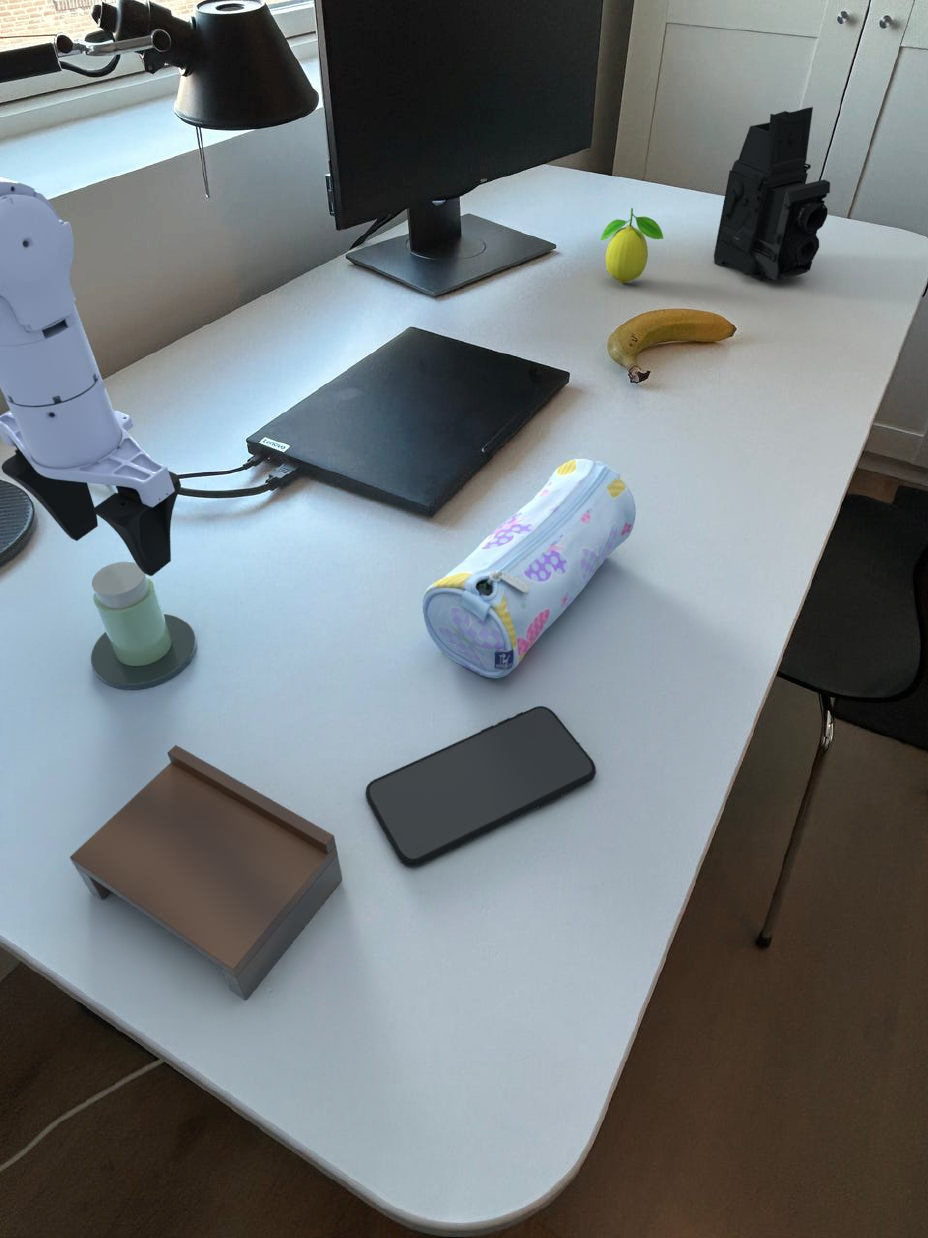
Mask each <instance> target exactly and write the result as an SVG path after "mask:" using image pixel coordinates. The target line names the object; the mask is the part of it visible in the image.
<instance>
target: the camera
mask: <svg viewBox="0 0 928 1238" xmlns="http://www.w3.org/2000/svg"><path fill="white" fill-rule="evenodd" d="M813 109H814V106H811V107H805V108H802V109H799V110H795V111H787V110H784V111H780V112H778V113H775V114H773V113H770V115H769V122H764V123H759V124H754V125H750V126H749V128H748V131H747V133H746V136H745V140H744V142H743V145H742V147H741V151H740V154H739V158H738V159H735V160H734V162H733V164H732V167H731V170H729V172H728V177H727V178H728V179H727V182H726V189H725V194H724V198H723V204H722V209H721V215H720V220H719V226H718V230H717V237H716V242H715V247H714V252H713V261H714V262H713V263H714V265H717V266H721V265H725V266H728V267H730V268H732V269H734V270H736V271H738V272H740V273H743V274H744V275H745V276H749V277H751V278H753V279H755V280H757V281H759V282H761V281H765V280H768V279H771V280H773V281H777V280H781V281H783V280H787V279H790V278H792V277H796V276H800V275H802V274H806V273H808V271H809V272H810V271H811V268H812V264H813V260H814V259H815V257H816V255H817V253H818V251H819V249H820V238H819V237H818V236H817V234H818V231H819V230H820V229H821V228H822V227H823V226H824V225H825V222H826V220H827V218H828V210H829V209H828V207H827V206H826V205H825V200H824V199H825V198H827V197H828V194H830V193H831V182H830V181H829V180H826V179H820V180H817V181H816V180H815V181H812V182H807V179H808V175H809V173H808V170H811V165H812V164H809V163H807V159H808V149H809V142H810V141H809V140H810V134H811V126H812V120H813V119H812V117H813Z"/></svg>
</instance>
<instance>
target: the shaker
mask: <svg viewBox="0 0 928 1238" xmlns="http://www.w3.org/2000/svg"><path fill="white" fill-rule="evenodd" d="M91 587H92V590H93V592H94V593H93V596H92V601H93V603H94V606H95V609H96V611H97V614H98V616H99V619H100V621H101V623H102V626H103V629H104V632H106V633H107V636H108V638H109V641H110V643H111V646H112V648H113V651H114V653H115V656H116V658H117V659H118V660H119V661H120V662H122V663H123V664H126V665H129V666H143V665H148V664H151V663H153V662H156V661H157V660H159V659H161V658H162V657H163V656H164V655H166V653H167V652H168V651H169V649H170V647H171V644H172V638H171V635H170V632H169V629H168V626H167V623H166V620H165V617H164V614H165V613H164V611H163V607H162V605H161V602H160V599H159V596H158V592H157V590H156V587H155V584H154V582H153V581H152V579H151V578H150V577H149V576H148V575H147V574H145V573H144V572H143V571H142V570H141V569H140V568H139V567H138V565H137V564H136V562H135V561H134V562H133V561H117V562H114V563H111V564H108V565H106V566H104V567H102V568H101V569H99V570H97V572H96V573H95V574H94V576H93V577H92V579H91ZM163 613H164V614H163Z"/></svg>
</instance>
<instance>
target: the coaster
mask: <svg viewBox="0 0 928 1238" xmlns="http://www.w3.org/2000/svg"><path fill="white" fill-rule="evenodd" d="M163 614H164V617H165V620H166V623H167V626H168V629H169V632H170V635H171V638H172V644H171V647H170V649H169V651H168V652H167V653H166V655H164V656H163V657H162V658H161V659H159V660H157V661H156V662H153V663H151V664H148V665H143V666H129V665H126V664H123V663H122V662H120V661H119V660H118V659H117V658H116V656H115V653H114V651H113V648H112V646H111V643H110V641H109V638H108V636H107V633H106V631H104V632H103V633H102V635H101V636H100V637H99V638H98V639H97V640H96V642H95V644H94V646H93V648H92V650H91V655H90V663H91V666H92V669H93V671H94V673H95V675H96V677H97V678H98V679H99V680H100V681H102V683H104V684H106V685H108V686H110V687H112V688H116V689H120V690H142V689H143V690H144V689H148V688H152V687H155V686H159V685H161V684H164V683H166V682H168V681H170V680H172V679H173V678H175V677H176V676H178V675H179V674H180V673H181V672H183V671H184V670H185V669H186V668H187V666H188V665H189V664H190V663H191V661H192V660H193V658H194V656H195V654H196V649H197V638H196V634H195V632H194V630H193V627H192V626H191V625H190V624H189V623H188V622H187V621H186V620H184V619H183V618H181V617H179V616H177V615H172V614H169V613H165V612H163Z"/></svg>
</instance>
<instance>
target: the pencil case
mask: <svg viewBox="0 0 928 1238" xmlns="http://www.w3.org/2000/svg"><path fill="white" fill-rule="evenodd" d="M636 511H637V508H636V503H635V499H634V495H633V493H632V491H631V489H630V488H629V486H628V485H627V484H626V482H625V481H623V479H622V478H621V474H620V473H619V472H617V470H614V469H612V467H610V466H608V465H607V464H605V463H604V462H602V461H600V460H597V461H593V460H592V459H591V460H590V459H587V458H574V459H571V460H569V461H566V462H564V463H562V464H561V465H560V466H559V467H557V468H556V469H555V470H554V471H553V473H552V474H551V475H550V477H549V478H548V480H547V483H546V484H545V485H544V486H543V487H542V489H541V490H540V491H538V492H537V493H536V495H535V496H534V497H533V498H532V500H531V501H529V502H527V503H526V504H525V505H524V506H523V507H521V508H520V509H519V510H518V511H517V512H516V513H514V514H513V515H512V516H510V517H509V518H508V519H507V520H505V521H504V522H503V523H501V524H500V525H499V526H498V527H497V528H496V529H494V531H492V532H491V533H490V534H489V535H488V536H487V537H486V538H485V539H483V541H481V543H480V544H479V545H478V546H477V547H476V548H475V549H474V550H473V551H472V552H471V553H470V554H469V555H468V556H467V557H466V558H465V559H463V561H461V562H460V563H459V564H458V565H457V566H456V567H454V568H453V569H452V570H451V571H450V572H448V573H447V574H446V575H444V576H443V578H441V579H438V580H436V581H434V582H433V583H431V584H430V585H429V586H428V587H427V588H426V590H425V591H424V593H423V596H422V614H423V620H424V624H425V627H426V630H427V633H428V635H429V637H430V638H431V640H432V641H433V643H434V644H435V645H436V647H437V648H438V649H439V650H440V651H441V652H442V653H443V654H444V656H446V657H447V658H448V659H450V660H452V661H453V662H455V663H457V664H459V665H460V666H463V667H464V668H466V669H468V670H470V671H472V672H473V673H475V674H478V675H479V676H482V677H486V678H489V679H490V678H491V679H500V678H504V677H506V676H508V675H509V674H511V672H512V671H513V670H514V669H516V668H517V666H519V664H520V663H521V662H522V660H523V659H524V657H525V655H526V654H527V652H528V651H529V650H530V648H532V646H533V645H534V644H535V643H536V642H537V641H538V640H539V639H540V637H541V636H542V635H543V634H544V632H545V631H546V630H547V629H549V627H551V626H552V624H553V623H554V622H555V621H556V620H557V619H558V618H559V617H560V616H561V615H562V614H563V613H564V612H565V611H566V609H568V607H569V606H570V605H571V604H572V603H573V601H574V600H575V599H576V598H577V596H578V595H579V594H580V593H581V592H582V591H583V590H584V589H585V588H586V586H587V585H588V583H589V582H590V581H591V579H592V578H593V576H594V575H595V574H596V572H597V571H598V569H599V568H600V567H601V566H602V565H603V563H604V562H605V560H606V559H607V558H608V556H610V555H611V554H613V552H614V551H615V550H616V549H617V548H618V547H619V546H620V545H622V544H623V543H624V542H625V541H626V540H627V539H628V538H629V537H630V535H631V533H632V531H633V529H634V526H635V520H636V516H637V515H636V514H637V512H636Z"/></svg>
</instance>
